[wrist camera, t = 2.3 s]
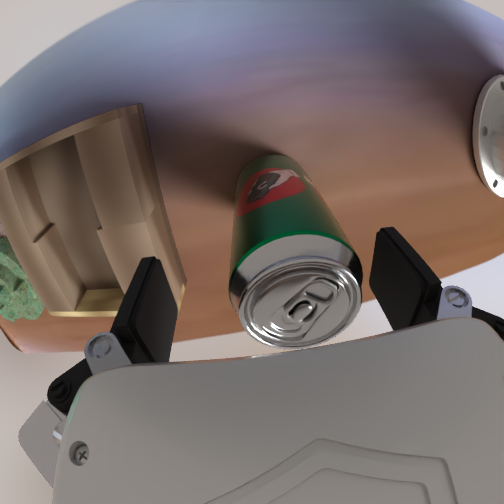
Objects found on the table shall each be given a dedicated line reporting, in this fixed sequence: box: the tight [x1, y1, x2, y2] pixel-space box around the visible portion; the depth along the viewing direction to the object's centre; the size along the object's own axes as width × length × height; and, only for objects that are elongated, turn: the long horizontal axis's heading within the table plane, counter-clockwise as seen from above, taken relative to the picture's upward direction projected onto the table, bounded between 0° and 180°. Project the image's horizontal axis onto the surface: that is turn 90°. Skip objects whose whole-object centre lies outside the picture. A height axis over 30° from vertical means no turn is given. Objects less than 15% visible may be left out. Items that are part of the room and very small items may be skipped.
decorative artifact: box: [0, 237, 45, 323], centre depth 20 cm, size 10×7×10 cm
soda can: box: [228, 155, 363, 349], centre depth 14 cm, size 5×5×12 cm
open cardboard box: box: [0, 103, 187, 316], centre depth 18 cm, size 14×15×4 cm
